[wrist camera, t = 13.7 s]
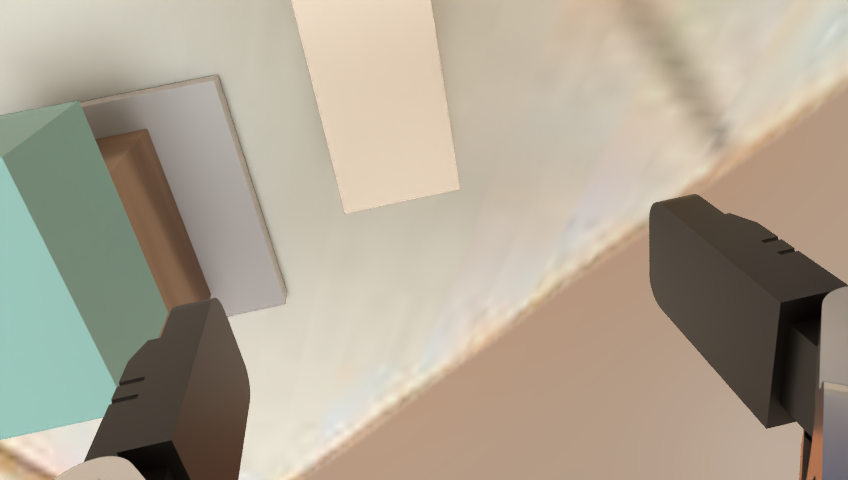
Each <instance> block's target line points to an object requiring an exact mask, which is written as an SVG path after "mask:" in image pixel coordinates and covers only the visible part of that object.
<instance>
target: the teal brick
mask: <svg viewBox="0 0 848 480" xmlns="http://www.w3.org/2000/svg"><path fill="white" fill-rule="evenodd" d="M167 314H168V311H167V309H166V306H165V304H164V302H163V299H162V297H161V295H160V292H159V290H158V287H157V285H156V283H155V280H154V278H153V276H152V273H151V271H150V268H149V266H148V264H147V261H146V259H145V257H144V254H143V252H142V249H141V247H140V245H139V242H138V240H137V238H136V235H135V233H134V230H133V228H132V226H131V223H130V221H129V219H128V216H127V214H126V211H125V209H124V207H123V204H122V202H121V200H120V197H119V195H118V192H117V190H116V188H115V185H114V183H113V181H112V178H111V176H110V173H109V171H108V169H107V166H106V164H105V162H104V159H103V157H102V154H101V152H100V150H99V147H98V145H97V143H96V140H95V138H94V135H93V133H92V131H91V128H90V126H89V124H88V121H87V119H86V116H85V114H84V112H83V109H82V107H81V105H80V102H79V101H73V102H68V103H63V104H58V105H53V106H48V107H43V108H37V109H32V110H27V111H22V112H17V113H12V114H7V115H1V116H0V440H2V439H7V438H11V437H16V436H21V435H25V434H30V433H34V432H39V431H43V430H48V429H52V428H57V427H62V426H66V425H71V424H75V423H80V422H84V421H89V420H93V419H98V418H103V417H104V415H105V413H106V410H107V408H108V406H109V405H110V404H112V402H111V399H112V397H113V394H114V392H115V390H116V387H118V386H119V381H120V378H121V376H122V374H123V372H124V369H125V367H126V365H127V362H128V361H129V360H130V359H131V358H132V357H133V355H134V354H135V353H136V352H137V351H138V350H139V349H140V348H141V347H142V346H143V345H144V344H145V343H146V342H147V341H148V340H152V339H156V338H158V337H159V334H160V332H161V329H162V327H163V324H164V322H165V319H166V317H167Z"/></svg>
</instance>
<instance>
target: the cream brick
mask: <svg viewBox="0 0 848 480" xmlns="http://www.w3.org/2000/svg"><path fill="white" fill-rule="evenodd" d="M291 2H292V6H293V10H294V13H295V17H296V21H297V25H298V29H299V33H300V37H301V41H302V45H303V49H304V53H305V57H306V61H307V65H308V69H309V73H310V77H311V81H312V85H313V89H314V93H315V97H316V101H317V105H318V109H319V113H320V117H321V121H322V125H323V129H324V133H325V137H326V141H327V145H328V149H329V153H330V157H331V161H332V165H333V169H334V173H335V177H336V181H337V185H338V189H339V193H340V197H341V201H342V205H343V209H344V213H345V214H347V213H351V212H356V211H361V210H366V209H370V208H375V207H380V206H384V205H389V204H394V203H398V202H403V201H408V200H412V199H417V198H422V197H426V196H431V195H436V194H440V193H445V192H450V191H455V190H459V189H460V185H459V179H458V172H457V166H456V159H455V153H454V146H453V140H452V133H451V127H450V120H449V114H448V107H447V101H446V95H445V88H444V82H443V75H442V69H441V62H440V56H439V49H438V43H437V36H436V30H435V23H434V17H433V10H432V4H431V0H291Z"/></svg>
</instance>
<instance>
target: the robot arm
mask: <svg viewBox="0 0 848 480" xmlns="http://www.w3.org/2000/svg"><path fill="white" fill-rule="evenodd" d="M649 239H650V242H649V243H650V283H651V288H652V291H653V294H654V297H655V299H656V301H657V303H658V305H659V306H660V308H661V309H662V310H663V311H664V312H665V314H666V315H667V316H668V317H669V318H670V319H671V320H672V322H673V323H674V324H675V325H676V326H677V327H678V328H679V329H680V331H681V332H682V333H683V334H684V335H685V336H686V338H687V339H688V340H689V341H690V342H691V343H692V344H693V345H694V347H695V348H696V349H697V350H698V351H699V352H700V353H701V355H702V356H703V357H704V358H705V359H706V360H707V361H708V363H709V364H710V365H711V366H712V367H713V368H714V369H715V370H716V372H717V373H718V374H719V375H720V376H721V377H722V379H723V380H724V381H725V382H726V383H727V384H728V385H729V387H730V388H731V389H732V390H733V391H734V392H735V393H736V395H738V397H739V398H740V399H741V400H742V401H743V403H744V404H745V405H746V406H747V407H748V408H749V409H750V410H751V412H752V413H753V414H754V415H755V416H756V417H757V418H758V420H759V421H760V422H761V423H762V424H763V425H764V426H765V428H766V429H767V428H771V427H775V426H780V425H784V424H788V423H792V422H796V421H797V422H798V423H799V425H800V426H801V427H802V428H803V429H804V430H803V436H802V443H801V456H800V473H799V480H848V285H847V284H846V283H844V282H843V281H841V280H840V279H838V278H837V277H835V276H834V275H833V274H831V273H830V272H828V271H827V270H825V269H824V268H822V267H821V266H820V265H818V264H817V263H815V262H814V261H812V260H811V259H809V258H808V257H807V256H805V255H804V254H802V253H801V252H799V251H796V252H795V250H794V248H793V247H792V246H791V245H789V244H788V243H786V242H785V241H783V240H782V239H781V240H778V237H777V236H776V235H775V234H773V233H772V232H770V231H769V230H767V229H766V228H765V227H763V226H762V225H760V224H758V223H757V222H754V221H751V220H748V219H745V218H742V217H739V216H736V215H733V214H730V213H729V214H724V213H722V212H721V211H720V210H718V209H717V208H715V207H714V206H713V205H711V204H710V203H708V202H707V201H706V200H704V199H703V198H702V197H700V196H699V195H696V194H692V195H688V196H683V197H678V198H674V199H669V200H665V201H660V202H656V203H654V204H653V205H652V207H651V210H650V217H649ZM111 402H112V404H110V405H109V406H108V408H107V410H106V413H105V415H104V417H103V419H102V422H101V424H100V426H99V429H98V431H97V433H96V435H95V438H94V440H93V442H92V445H91V447H90V449H89V451H88V454H87V456H86V458H85V461H84V462H83V463H81V464H78V465H76V466H74V467H72V468H70V469H69V470H67V471H65V472H63V473H62V474H61V475H59V476H58V477H56V478H55V479H53V480H238V477H239V470H240V463H241V457H242V450H243V443H244V436H245V430H246V423H247V416H248V409H249V403H250V385H249V379H248V374H247V370H246V367H245V364H244V361H243V358H242V356H241V353H240V350H239V348H238V345H237V342H236V340H235V337H234V334H233V332H232V329H231V326H230V324H229V321H228V318H227V316H226V313H225V310H224V308H223V306H222V304H221V302H220V301H219V300H218V299H217V298H211V299H206V300H202V301H197V302H192V303H188V304H183V305H179V306H175V307H173V308H172V309H171V311H170V314H169V317H168V319H167V322H166V324H165V327H164V330H163V332H162V335H161V337H160V338H156V339H152V340H148V341H147V342H146V343H145V344H144V345H143V346H142V347H141V348H140V349H139V350H138V351H137V352H136V353H135V354H134V355H133V357H132V358H131V359H130V360H129V361H128V362H127V365H126V367H125V369H124V372H123V374H122V376H121V378H120V381H119V386H118V387H116V390H115V392H114V394H113V397H112V399H111Z"/></svg>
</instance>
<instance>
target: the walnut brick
mask: <svg viewBox="0 0 848 480" xmlns="http://www.w3.org/2000/svg"><path fill="white" fill-rule="evenodd" d="M95 140H96V143H97V145H98V147H99V150H100V152H101V154H102V157H103V159H104V162H105V164H106V166H107V169H108V171H109V173H110V176H111V178H112V181H113V183H114V185H115V188H116V190H117V192H118V195H119V197H120V200H121V202H122V204H123V207H124V209H125V211H126V214H127V216H128V219H129V221H130V223H131V226H132V228H133V230H134V233H135V235H136V238H137V240H138V242H139V245H140V247H141V249H142V252H143V254H144V257H145V259H146V261H147V264H148V266H149V268H150V271H151V273H152V276H153V278H154V280H155V283H156V285H157V287H158V290H159V292H160V295H161V297H162V299H163V302H164V304H165V306H166V309H167V311H168V314H167V317H166V319H165V322H164V324H163V327H162V329H161V332H160V334H159V337H158V338H160V337H161V335H162V332H163V330H164V327H165V324H166V322H167V319H168V317H169V314H170V311H171V309H172V308H173V307H175V306H179V305H183V304H188V303H192V302H197V301H202V300H206V299H210V297H211V293H210V290H209V288H208V285H207V282H206V280H205V277H204V275H203V272H202V269H201V267H200V264H199V262H198V259H197V256H196V254H195V251H194V249H193V246H192V243H191V241H190V238H189V236H188V233H187V230H186V228H185V225H184V223H183V220H182V217H181V215H180V212H179V210H178V207H177V204H176V202H175V199H174V197H173V194H172V191H171V189H170V186H169V184H168V181H167V178H166V176H165V173H164V171H163V168H162V165H161V163H160V160H159V158H158V155H157V152H156V150H155V147H154V145H153V142H152V139H151V137H150V134H149V132H148V129H143V130H138V131H133V132H128V133H123V134H118V135H114V136H109V137H104V138H99V139H95Z"/></svg>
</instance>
